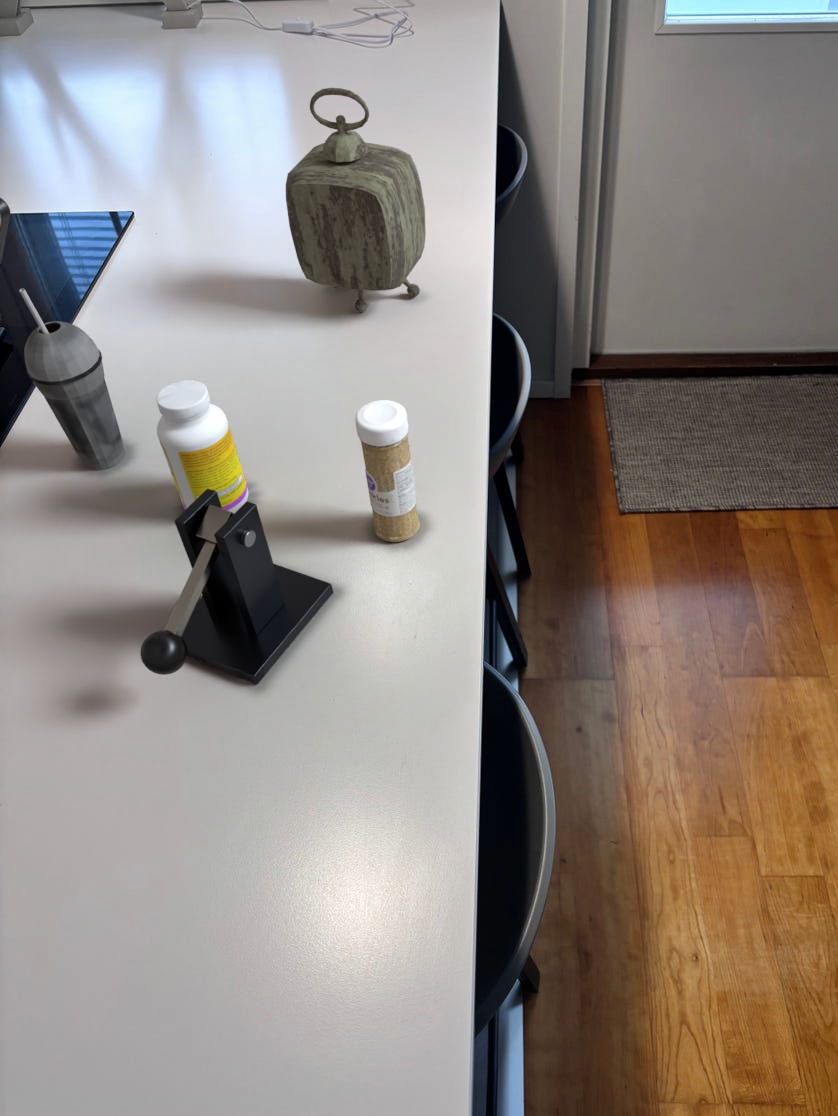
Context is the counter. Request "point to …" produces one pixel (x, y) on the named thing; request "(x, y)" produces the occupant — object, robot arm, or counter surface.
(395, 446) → the sprinkles bottle
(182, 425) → the supplement bottle
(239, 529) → the bracket
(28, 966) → the counter surface
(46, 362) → the beverage cup
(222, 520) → the lever
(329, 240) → the tabletop clock
